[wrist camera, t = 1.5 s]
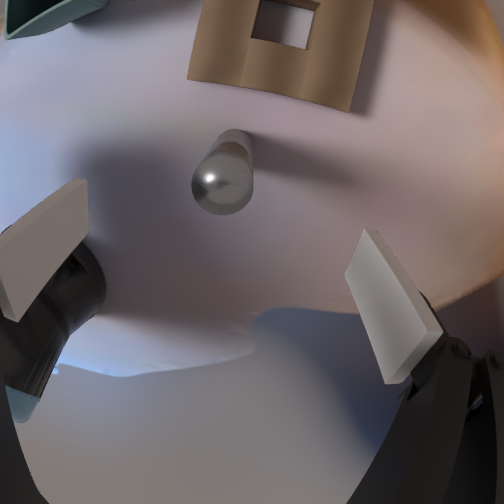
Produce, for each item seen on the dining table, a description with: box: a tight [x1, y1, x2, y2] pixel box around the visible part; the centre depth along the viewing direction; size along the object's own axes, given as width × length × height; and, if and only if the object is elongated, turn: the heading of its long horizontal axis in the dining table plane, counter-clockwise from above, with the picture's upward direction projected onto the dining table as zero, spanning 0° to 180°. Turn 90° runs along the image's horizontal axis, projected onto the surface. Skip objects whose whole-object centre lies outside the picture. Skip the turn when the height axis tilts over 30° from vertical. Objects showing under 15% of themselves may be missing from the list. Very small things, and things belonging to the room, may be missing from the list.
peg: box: [191, 129, 253, 215], centre depth 22 cm, size 4×4×12 cm
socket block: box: [187, 0, 374, 113], centre depth 19 cm, size 14×14×3 cm
